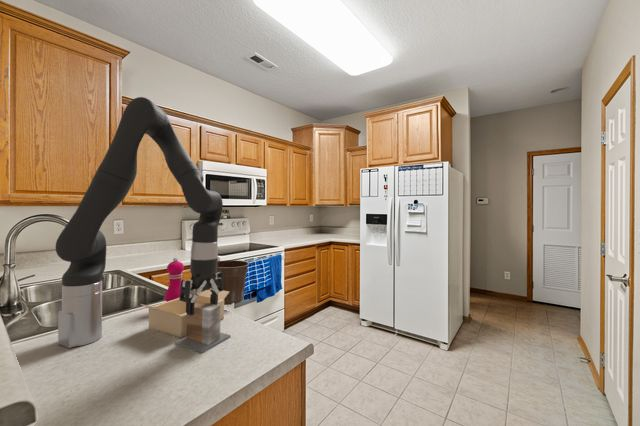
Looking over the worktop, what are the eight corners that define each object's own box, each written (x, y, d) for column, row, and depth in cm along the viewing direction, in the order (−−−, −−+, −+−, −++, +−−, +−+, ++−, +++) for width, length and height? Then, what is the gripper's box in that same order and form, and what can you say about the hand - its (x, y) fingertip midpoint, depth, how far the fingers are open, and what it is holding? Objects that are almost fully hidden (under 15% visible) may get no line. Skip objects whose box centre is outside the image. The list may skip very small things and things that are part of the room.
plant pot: (252, 295, 132) (252, 260, 131) (243, 307, 116) (244, 267, 115) (216, 294, 131) (216, 259, 131) (202, 307, 115) (203, 267, 115)
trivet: (202, 353, 79) (202, 350, 79) (174, 344, 84) (175, 342, 84) (230, 337, 89) (230, 335, 89) (204, 329, 94) (204, 328, 94)
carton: (172, 343, 84) (172, 312, 84) (139, 332, 91) (139, 303, 91) (230, 316, 106) (230, 291, 106) (199, 308, 113) (200, 285, 113)
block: (208, 345, 83) (208, 310, 82) (186, 338, 86) (186, 305, 86) (220, 338, 87) (220, 305, 86) (198, 332, 90) (198, 301, 90)
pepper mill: (180, 303, 118) (180, 255, 118) (188, 307, 114) (189, 257, 113) (161, 308, 113) (161, 257, 112) (169, 312, 108) (170, 259, 108)
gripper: (193, 261, 78) (191, 321, 78) (231, 254, 91) (229, 306, 91) (174, 258, 81) (172, 315, 81) (213, 252, 94) (211, 301, 94)
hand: (202, 310), depth 86 cm, fingers open, 8 cm apart
